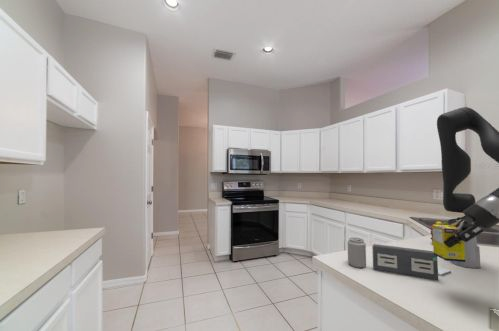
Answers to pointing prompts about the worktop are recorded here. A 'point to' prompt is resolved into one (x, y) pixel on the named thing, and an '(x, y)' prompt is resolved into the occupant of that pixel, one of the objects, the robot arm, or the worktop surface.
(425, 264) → the panel
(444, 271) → the external hard drive
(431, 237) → the cake
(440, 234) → the supplement box
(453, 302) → the worktop surface
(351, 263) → the can
